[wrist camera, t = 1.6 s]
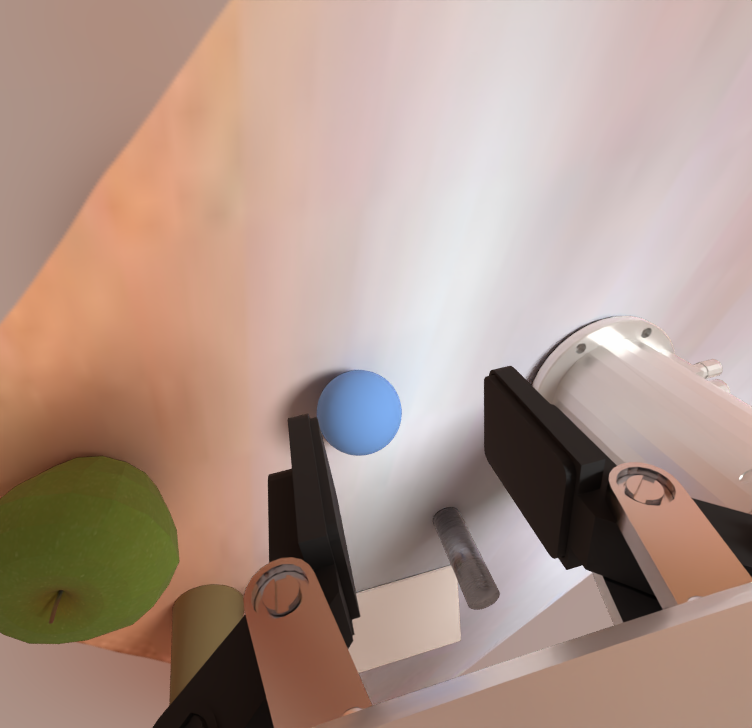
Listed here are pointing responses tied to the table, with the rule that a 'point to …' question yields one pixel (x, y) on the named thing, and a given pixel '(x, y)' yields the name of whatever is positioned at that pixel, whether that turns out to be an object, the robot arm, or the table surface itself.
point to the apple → (83, 551)
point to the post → (465, 559)
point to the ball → (359, 412)
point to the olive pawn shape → (200, 629)
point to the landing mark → (406, 619)
